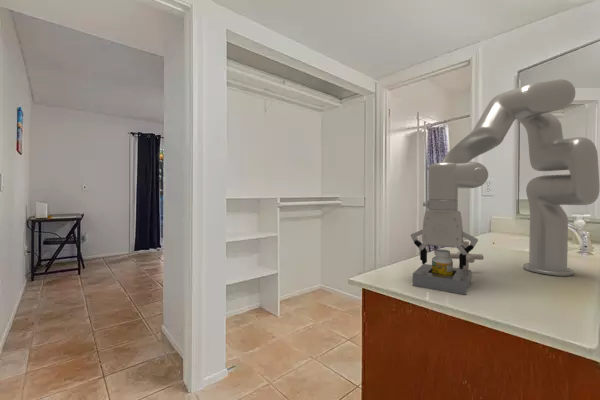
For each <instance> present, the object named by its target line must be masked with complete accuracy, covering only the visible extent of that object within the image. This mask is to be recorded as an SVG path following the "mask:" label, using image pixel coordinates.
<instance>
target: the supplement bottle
mask: <svg viewBox="0 0 600 400" xmlns="http://www.w3.org/2000/svg"><path fill="white" fill-rule="evenodd" d="M450 253H451V251H450V250H449V249H441V248H439V249H434V253H433V255H434V256H433V257H432V259H431V265H432V273H435V274H441V275H448V276H453V268H454V262H453V259H451V258H449V256H450Z"/></svg>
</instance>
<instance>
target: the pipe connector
mask: <svg viewBox="0 0 600 400" xmlns="http://www.w3.org/2000/svg"><path fill="white" fill-rule="evenodd" d="M462 245H463V246H464V247H465V248H466V247H467V246H469V245H470V241H469V240H463V243H462ZM460 253H461V252H460V251H459V250H458V251H457V253H455V252H453V253H452V252H450V256H449V258H451V259H452V260H453V259H454V260H457V259H458V260H459V255H460ZM476 260H484V255H483V253H470V252H468V253H467V254H466V266H464V267H463V269H466V270H470V269H469V268H470V267H469V266H470V265H469V264H473V263H475V261H476Z"/></svg>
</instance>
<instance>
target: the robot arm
mask: <svg viewBox="0 0 600 400" xmlns="http://www.w3.org/2000/svg"><path fill="white" fill-rule="evenodd" d="M575 98H576V87H575V86H574V84H573V83H572V82H570V81H569V80H568V79H563V78H562V79H561V78H560V79H554V80H553V79H552V80H548V81H547V80H546V81H542V82H541V81H539V82H535V83H529V84H524V85H521V86H519V87H516V88H514V89H510V90H508V91H505V92H502V93H499V94H497V95H495V96H494V97H493V98H492V99H491V100H490V102H488V104H487V106H486V108H485V109H484V110H483V113H482V114H481V116H480V118H479V119H478V121H477V123H476V124H475V126H474V128H473V129H472V131H471V132H469V133H468V134H467V135H465V137H463V139H461V140H460V141H459V142H458V143H456V144H455V146H453V147H452V148H451V149H449V151H448V152H446V154H445V156H444V158H443V159H442V161H441V162H435V163H432V164H430V165H429V167H428V181H427V182H428V189H427V191H428V193H427V195H428V200H427V201H423V202H422V207H426V208H427V210H425V211H424V214H423V219H422V221H423V222H422V229H421V230H419V231H416V232H413V233H411V234H410V237H411V240H412V241H413V244H415V246H416V247H417V248H418V250H419V254H420V255H419V260H420V261H421V265H423V264H427V262H428V249H427V247H428V246H432V247H433V246H434V247H443V248H456V249H457V250H458V251H460V252H461V253H460V255H459V259H458V261H459V263H458V265H459V267H458V268H459V269H463V267H464V266H466V254H467V253H468V252H469V253H470V252H471V251H472V250H473V249H474V248H475V247H476V245H477V243H478V242H479V239H478V238H477V237H474V236H473V235H471V234H470V233H467V232H466V231H464V229H463V227H464V226H463V218H462V212H461V211H460V210H459V208H458V207H459V205H458V204H459V200H458V198H459V192H458V191H459V189H476V188H479V187H482V186H483V185H485V184H486V182H487V180H488V178H489V170H488V168H487V167H486V166H485V164H484V165H483V164H482V163H480V162H477V161H472V160H473V159H475V158H477V157H479V156H481V155H483V154H485V153H487V152H489V151H491V150H493V149H495V148H497V147H498V146H499V145H500V144H501V143H503V141H504V139H505V137H506V135H507V134H508V132H509V130H510V128H511V127H512V125H513V123H514V121H515V120H517V121H518V122H520V124H521V125H522V126H523V127H524V128H525V131H526V133H527V142H528V153H529V154H528V156H529V163H530V166H531V168H532V169H533V170H535V171H538V172H557V171H569V174H551V175H550V174H548V175H546V174H544V175H539V176H536V177H534V178H532V179H530V180H529V181H528V182H527V185H526V188H525V189H526V190H525V191H526V198H527V201H528V207H529V248H528V249H529V252H528V254H529V257H528V262H526V263H523V266H522V267H523V269H525V270H527V271H529V272H532V273H535V274H542V275H546V276H547V275H549V276H557V277H559V276H560V277H568V276H569V277H570V276H573V275H574V274H575V271H574V269H572V268H569V267H568V250H569V249H568V246H569V245H568V242H569V240H568V239H569V238H568V237H569V235H568V234H569V218H568V215H567V213H566V211H565V210H564V209H563V207H562V205H563V206H564V205H565V206H587V205H591V204H594V203H595V202H596V201H597V199H598V198H599V196H600V195H599V194H600V171H599V170H600V169H599V168H600V167H599V156H598V155H599V154H598V150H597V146H596V145H595V143H594V142H593V141H592V140H591V139H589V138H587V137H583V136H579V137H571V138H570V137H569V138H565V139H564V135H563V128H562V123H561V121H560V120H559V118H557V117H556V115H554V114H553V113H552V112H556V111H560V110H564V109H566V108H568V107H569V106H570V105H571V104H572V103H573V101H574V99H575ZM419 236H421V237H422V238H421V241H422V242H421V241H420V240H419V239H418V237H419ZM464 239H466V240H467V241H469V246H467V247H466V248H465V247H464V246H463V245H462V243H463V241H464Z"/></svg>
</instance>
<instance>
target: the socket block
mask: <svg viewBox="0 0 600 400" xmlns="http://www.w3.org/2000/svg"><path fill="white" fill-rule="evenodd" d="M471 272H472V270H471V269H469V270H466V269H460V268H459V267H453V276H448V275H441V274H435V273H432V264H428V263H425V264H421V265H420V267H419V266H418V268H417V269H416V270H414V271H413V273H412V286H413V287H419V288H424V289H430V290H436V291H441V292H446V293H447V292H448V293H452V294H457V295H463V296H466V295H467V292H468V290H469V288H470V284H471V280H472V277H471V276H472V273H471Z"/></svg>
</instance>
